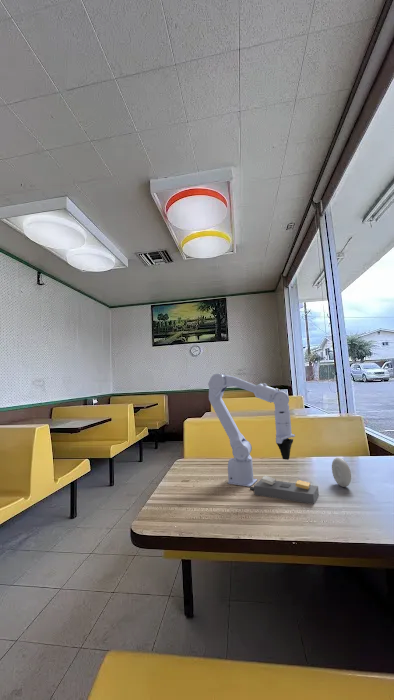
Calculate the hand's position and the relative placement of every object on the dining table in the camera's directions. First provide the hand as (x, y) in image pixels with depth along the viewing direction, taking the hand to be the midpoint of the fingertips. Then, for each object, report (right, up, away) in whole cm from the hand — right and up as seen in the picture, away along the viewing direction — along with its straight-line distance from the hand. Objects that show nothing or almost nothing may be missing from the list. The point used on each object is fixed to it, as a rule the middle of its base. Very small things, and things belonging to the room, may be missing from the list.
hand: (286, 459), depth 114 cm
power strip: (-4, -9, -10) cm, 14 cm away
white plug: (-8, -5, -7) cm, 12 cm away
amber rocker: (+2, -4, -13) cm, 14 cm away
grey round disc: (+19, -8, -5) cm, 21 cm away
